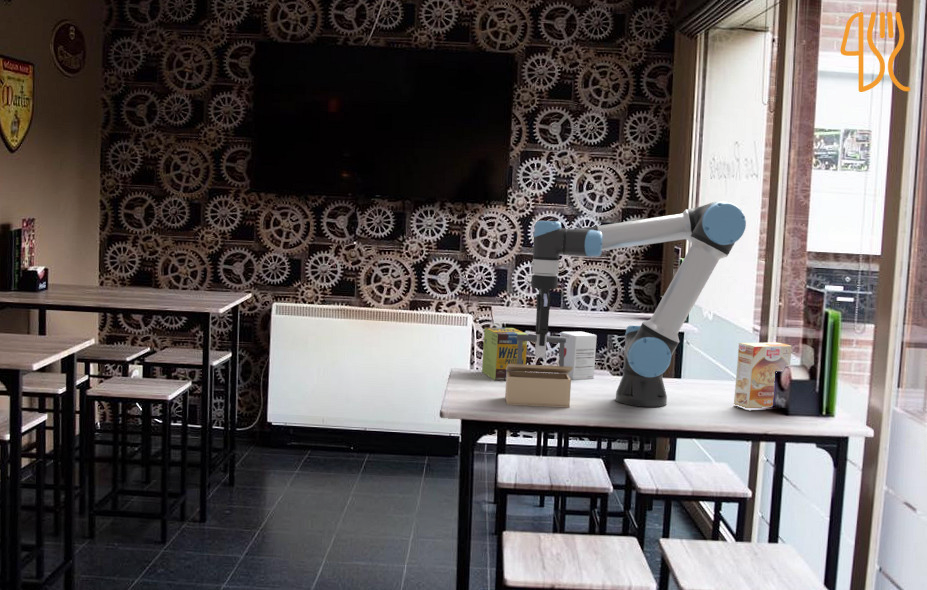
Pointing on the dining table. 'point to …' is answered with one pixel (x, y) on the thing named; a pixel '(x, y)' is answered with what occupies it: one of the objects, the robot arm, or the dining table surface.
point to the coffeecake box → (759, 372)
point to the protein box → (501, 351)
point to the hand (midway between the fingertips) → (540, 355)
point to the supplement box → (579, 354)
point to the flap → (539, 368)
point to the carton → (537, 389)
